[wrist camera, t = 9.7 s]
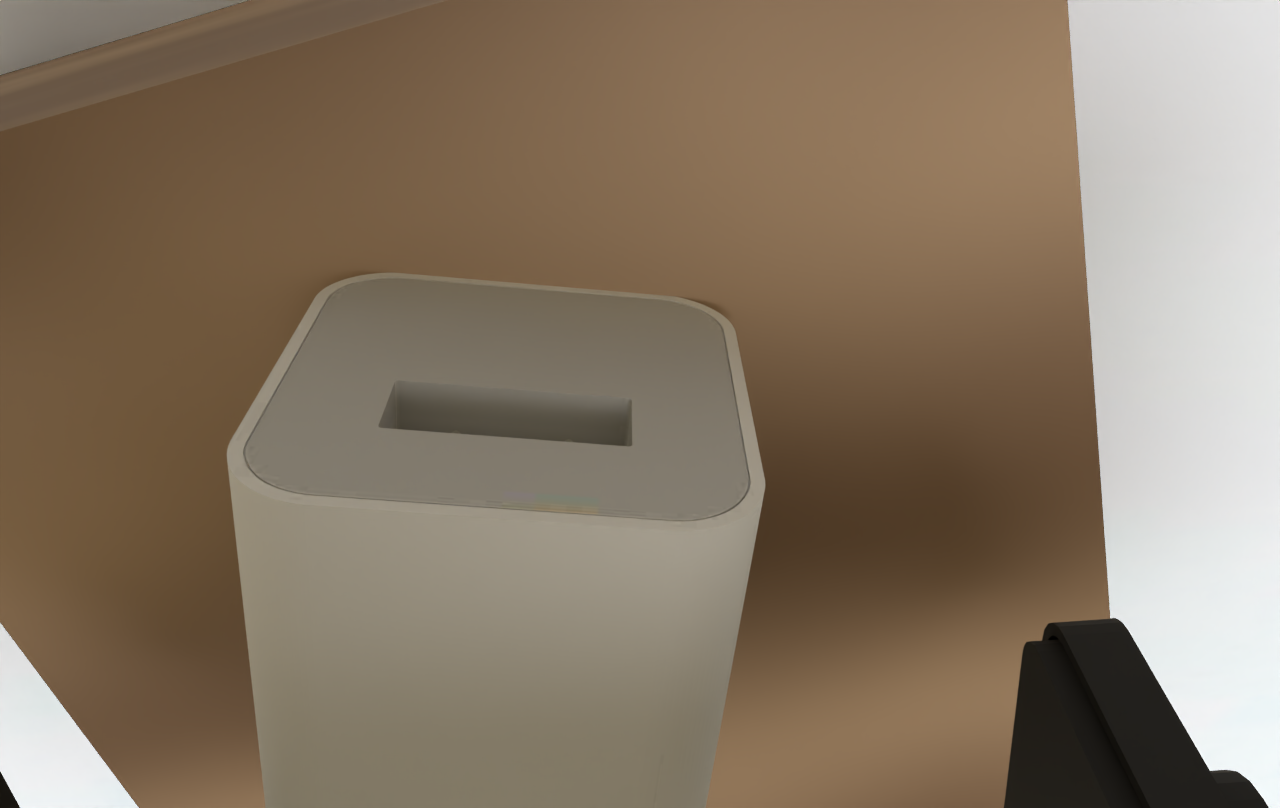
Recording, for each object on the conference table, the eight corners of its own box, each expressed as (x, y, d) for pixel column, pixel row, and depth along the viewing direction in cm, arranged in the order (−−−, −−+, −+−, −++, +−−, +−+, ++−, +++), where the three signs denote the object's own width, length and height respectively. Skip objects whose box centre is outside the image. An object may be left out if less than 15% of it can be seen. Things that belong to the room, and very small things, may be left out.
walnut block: (4, 71, 16) (-301, 220, 11) (898, -198, 14) (1054, -179, 9) (355, 700, 22) (271, 984, 17) (999, 563, 20) (1125, 832, 15)
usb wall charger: (728, 300, 11) (776, 537, 8) (658, 770, 15) (669, 1080, 11) (333, 267, 11) (197, 497, 7) (356, 752, 14) (270, 1064, 11)
